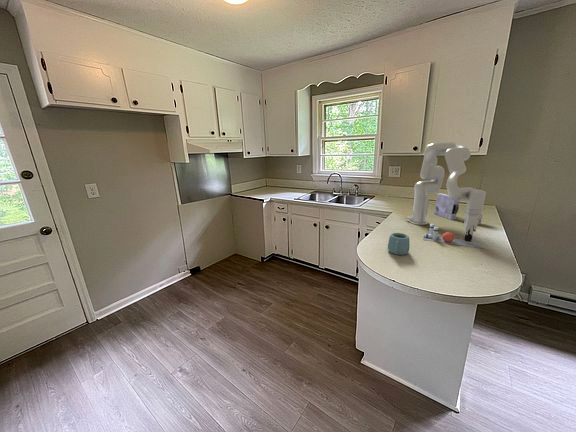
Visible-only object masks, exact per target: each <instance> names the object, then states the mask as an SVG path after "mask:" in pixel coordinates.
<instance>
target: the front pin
mask: <svg viewBox="0 0 576 432" xmlns="http://www.w3.org/2000/svg"><path fill="white" fill-rule="evenodd" d="M423 237H425V238H432V237H433V235H431V234H429V233H424V234H423ZM440 237H441V235H439V234H438V235H437V239H440Z"/></svg>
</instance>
